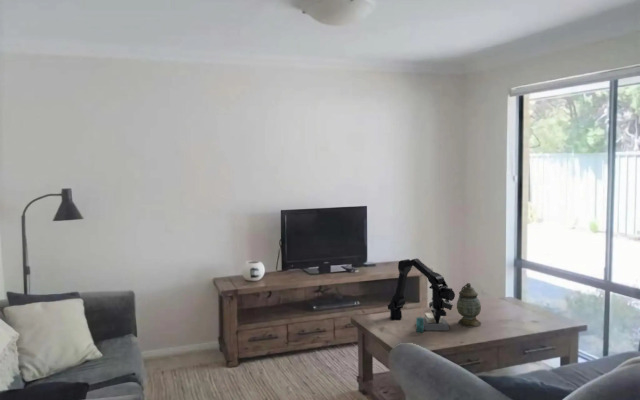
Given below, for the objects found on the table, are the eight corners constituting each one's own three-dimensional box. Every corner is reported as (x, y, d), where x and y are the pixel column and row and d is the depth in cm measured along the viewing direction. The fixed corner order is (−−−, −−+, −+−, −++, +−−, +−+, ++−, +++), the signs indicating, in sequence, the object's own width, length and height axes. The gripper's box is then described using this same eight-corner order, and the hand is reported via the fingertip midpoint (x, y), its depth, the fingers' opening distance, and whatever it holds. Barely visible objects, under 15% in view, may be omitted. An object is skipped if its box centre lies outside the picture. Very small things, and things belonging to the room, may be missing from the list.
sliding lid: (427, 322, 293) (427, 317, 292) (424, 317, 302) (424, 313, 301) (443, 322, 292) (443, 317, 292) (439, 317, 301) (439, 312, 301)
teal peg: (417, 333, 287) (417, 319, 286) (415, 330, 291) (415, 317, 290) (424, 332, 286) (423, 319, 286) (422, 330, 290) (422, 317, 290)
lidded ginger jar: (482, 327, 292) (482, 286, 290) (457, 326, 295) (457, 285, 293) (479, 320, 306) (479, 280, 304) (456, 319, 309) (455, 280, 307)
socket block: (424, 330, 290) (424, 324, 290) (420, 322, 304) (420, 317, 304) (448, 330, 290) (448, 324, 290) (443, 322, 304) (443, 316, 304)
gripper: (455, 301, 276) (455, 328, 277) (447, 292, 295) (447, 318, 296) (435, 301, 276) (435, 328, 278) (428, 292, 295) (428, 318, 296)
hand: (437, 323), depth 287 cm, fingers closed
